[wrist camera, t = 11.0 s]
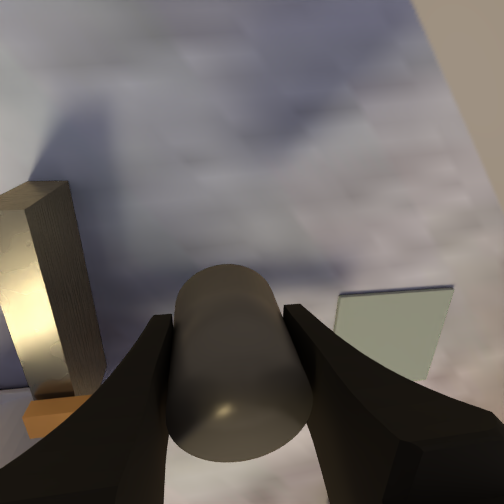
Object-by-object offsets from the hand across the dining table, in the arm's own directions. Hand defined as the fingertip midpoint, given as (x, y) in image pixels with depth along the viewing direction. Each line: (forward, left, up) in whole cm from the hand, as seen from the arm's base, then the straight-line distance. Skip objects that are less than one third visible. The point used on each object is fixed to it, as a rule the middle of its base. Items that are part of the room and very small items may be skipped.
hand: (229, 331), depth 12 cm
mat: (+13, -9, -9) cm, 19 cm away
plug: (0, 0, -2) cm, 2 cm away
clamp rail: (-9, -3, -9) cm, 13 cm away
